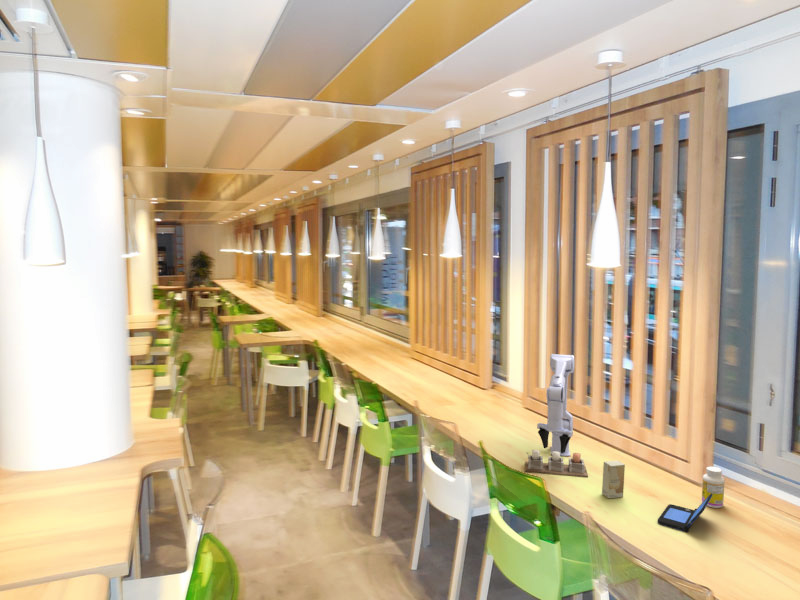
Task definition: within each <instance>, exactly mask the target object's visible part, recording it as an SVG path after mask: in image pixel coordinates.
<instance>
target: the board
mask: <svg viewBox="0 0 800 600" xmlns="http://www.w3.org/2000/svg"><path fill="white" fill-rule="evenodd" d="M524 463H525V471H524V472H525V473H534V474H542V475H543V474H545V475H546V474H547V475H557V476H567V477H568V476H569V477H582V478H589V474H588V471H587V466H586V465H585V461H584V459H583V458H581V459H580V463H573V457H571V458H568V464H564V457H560V461H559V462H555V461H552V456H548V462H544V458H543V455H539V460H532V454H531V455H530V454H529V455H528V461H527V460H526V461H524Z"/></svg>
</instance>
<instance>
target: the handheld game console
mask: <svg viewBox="0 0 800 600" xmlns="http://www.w3.org/2000/svg"><path fill="white" fill-rule="evenodd" d="M712 495H713V494H712V493H711V494H710V495H709V496H708V497H707V498H706V499H705V501H704V502H703V503H702V502H701V504H700V505H699V506H698V507H697V508H694V509H691V508H686V507H683V506H680V505H675V504H671V503H669V504H667V506H666V507H665V509H664V510H663V511H662V513H661V515H660V516H659V517H658V518H657V523H658V524H659V525H660V526H661V525H662V526H665V527H667V526H668V528H671V529H674V528H675V529H674V530H677V531H682V532H684V533H688V532H689V531H690V529H691V527H692V524H693V523H694V522H695V521H696V520H697V519H698V518H699V517H700V516H701V514H702V513H703V512H704V511H705V509H706V507H708V506H707V504H708V502H709V501H710V499H711V497H712Z"/></svg>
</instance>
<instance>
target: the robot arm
mask: <svg viewBox="0 0 800 600" xmlns="http://www.w3.org/2000/svg"><path fill="white" fill-rule="evenodd" d="M549 366H550V370H551V372H554V374H553V375H552V376H551V377H550V383H549V386H548V387H547V388H546V405H547V422H546V423H541V422H539V423H537V425H536V427H537V428H536V429H537V430H538V431H537V433H538V435H539V437H540V439H541V442H542V448H544V449H547V448H548V447H549V435H550V433H551V446H550V447H549V449H550V454H551V456H552V452H553V451H558V452H560V457H561V456H562V457H571V452H570V440H571V438H572V437H573V436H574V434H573V433H574V431H573V430H574V419H573V418H574V417H573V414H571V413H570V412H569V411H568V410H567V407H568V399H567V398H568V382H569V381H568V380H569V379H568V378H569V376H570V374H573V373H574V372H575V356H574V355H573V354H559V353H558V354H557V353H551V354H550V356H549Z"/></svg>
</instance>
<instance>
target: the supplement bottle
mask: <svg viewBox="0 0 800 600" xmlns="http://www.w3.org/2000/svg"><path fill="white" fill-rule="evenodd" d="M705 471H706V473H705V474H703V476H702V490H701V504H702V503H703V502H704V501H705V499H706V498H707V497H708V496H709V495H710V494H711V493H712V494H713V495H712V497H711V499H710V501H709V502H708V504H707V506H706V507H710V508H715V509H720V508H722V507H723V506H724V502H725V501H724V499H725V498H724V497H725V496H724V495H725V478H724V476H722V474H723V472H722V471H723V470H722V469H721V468H720V467H717V466H707V467H706V470H705Z"/></svg>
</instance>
